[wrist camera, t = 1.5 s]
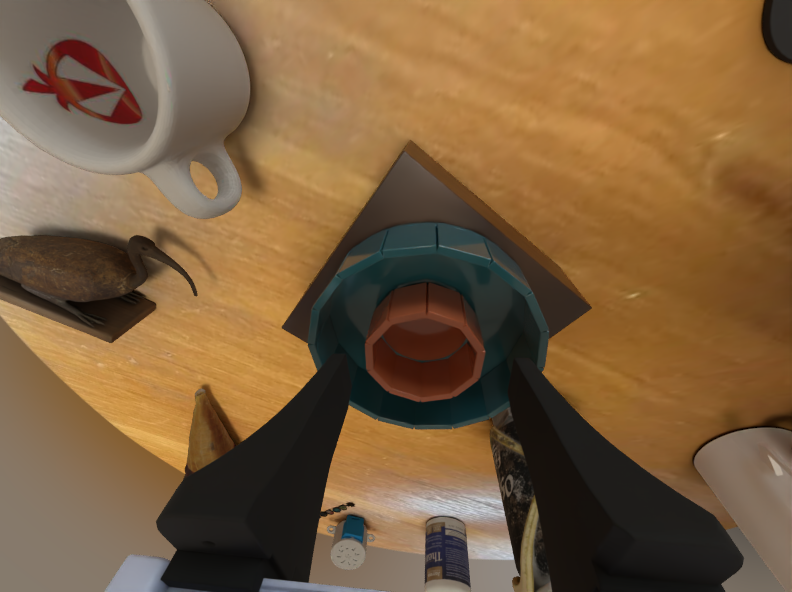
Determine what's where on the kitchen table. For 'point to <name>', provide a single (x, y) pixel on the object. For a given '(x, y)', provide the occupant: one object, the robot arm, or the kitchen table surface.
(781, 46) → the coaster
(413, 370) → the small bowl
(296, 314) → the stand
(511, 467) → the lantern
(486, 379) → the big bowl
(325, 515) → the bead strand
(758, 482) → the cup
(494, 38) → the kitchen table surface
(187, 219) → the kitchen table surface
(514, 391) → the robot arm
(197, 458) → the ice cream cone
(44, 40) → the cup
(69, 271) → the figurine
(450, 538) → the pill bottle
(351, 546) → the electric motor
